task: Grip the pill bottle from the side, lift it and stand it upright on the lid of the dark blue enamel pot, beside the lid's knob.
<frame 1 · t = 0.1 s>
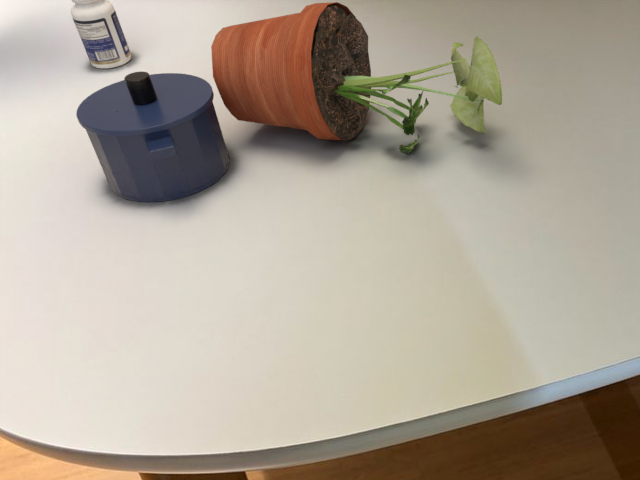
pot lid: (147, 105, 82), point 7 cm above the table, touching pot
pot: (170, 171, 87), on the table
pill bottle: (112, 63, 111), on the table
potted plant: (389, 138, 91), on the table
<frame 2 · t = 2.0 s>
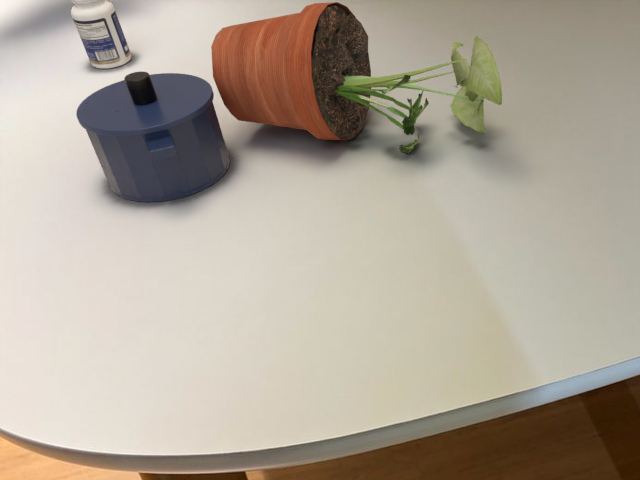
nothing on the table moved.
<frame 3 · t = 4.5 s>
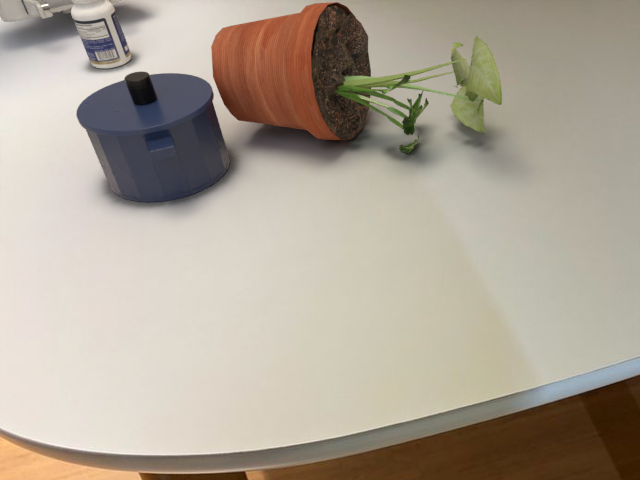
hand: (80, 4, 112), 5 cm above the table, tool horizontal, fingers open, 8 cm apart
nothing on the table moved.
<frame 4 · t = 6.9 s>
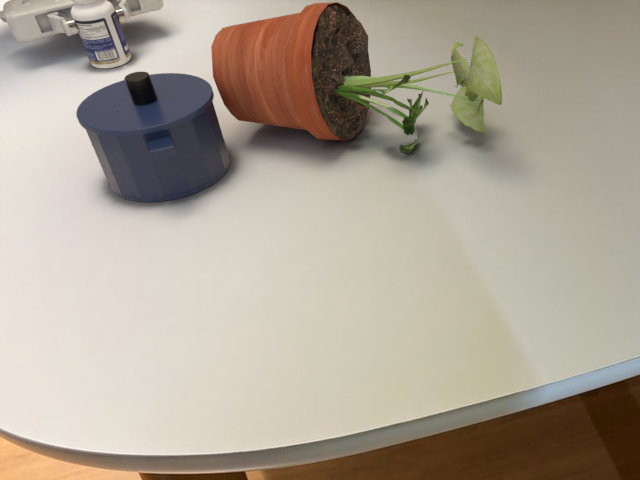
hand: (98, 22, 106), 6 cm above the table, tool horizontal, fingers closed on pill bottle, 5 cm apart
pill bottle: (112, 63, 111), on the table, touching gripper
everything else where it was.
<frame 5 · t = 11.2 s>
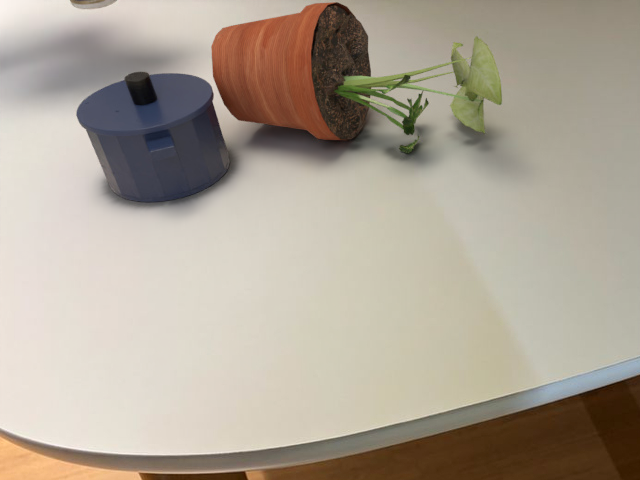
pill bottle: (96, 4, 95), point 11 cm above the table, touching gripper
everything else where it was.
when the fingers open (14 cm above the table, at t = 15.4 s): pill bottle stays where it is, resting on pot lid.
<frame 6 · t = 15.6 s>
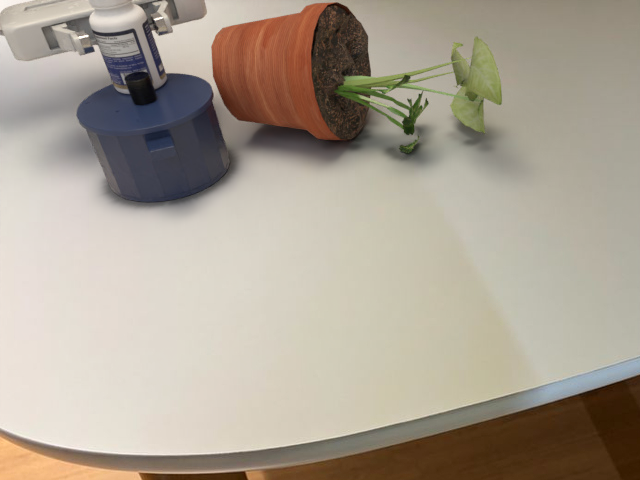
hand: (125, 36, 80), 13 cm above the table, tool horizontal, fingers open, 6 cm apart
pot lid: (147, 105, 82), point 7 cm above the table, touching pill bottle, pot
pill bottle: (142, 86, 85), point 8 cm above the table, touching pot lid
everything else where it was.
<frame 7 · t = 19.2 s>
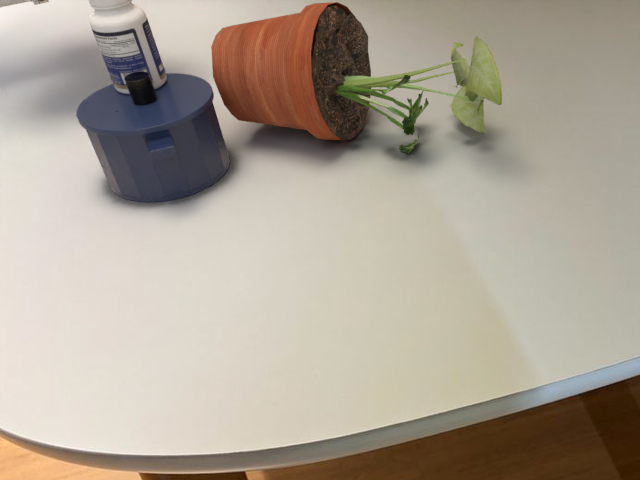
nothing on the table moved.
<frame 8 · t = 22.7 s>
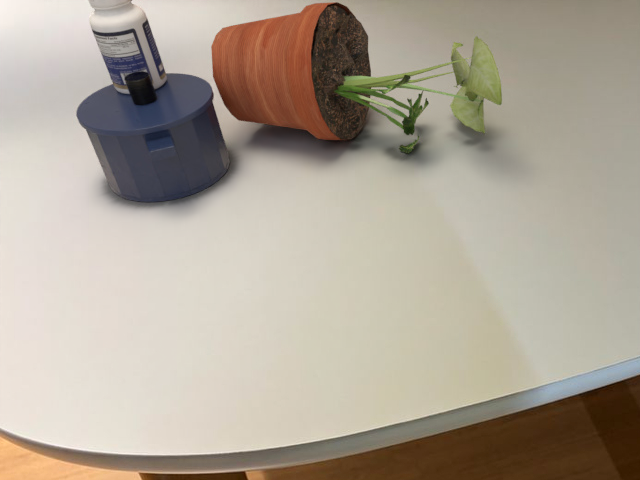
nothing on the table moved.
at the end: pill bottle inside the target area on the pot (4.2 cm from its centre), point 7.9 cm above the pot's base; pill bottle tilted 0°; the gripper is holding nothing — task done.
